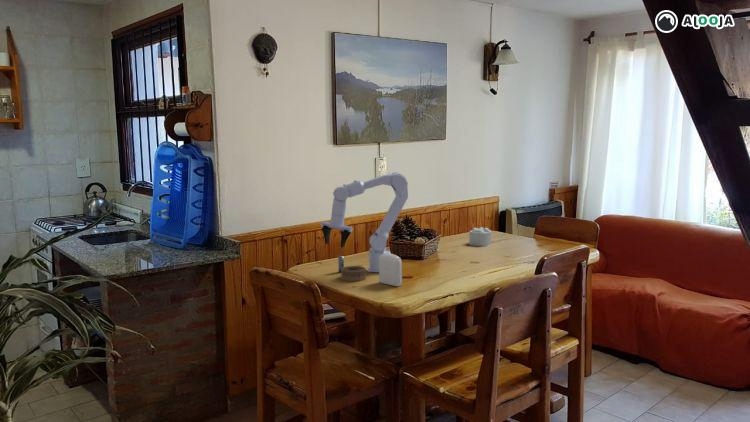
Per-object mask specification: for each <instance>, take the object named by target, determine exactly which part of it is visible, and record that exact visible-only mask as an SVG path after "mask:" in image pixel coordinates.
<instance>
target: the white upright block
mask: <svg viewBox="0 0 750 422" xmlns="http://www.w3.org/2000/svg"><path fill="white" fill-rule="evenodd" d="M378 282H379V283H380V284H384V285H388V286H392V287H401V286H402V285H403V261H402V259H401V257H399V256H398V255H397V254H394V253H391V254H382V255H380V257H379V272H378Z"/></svg>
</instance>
